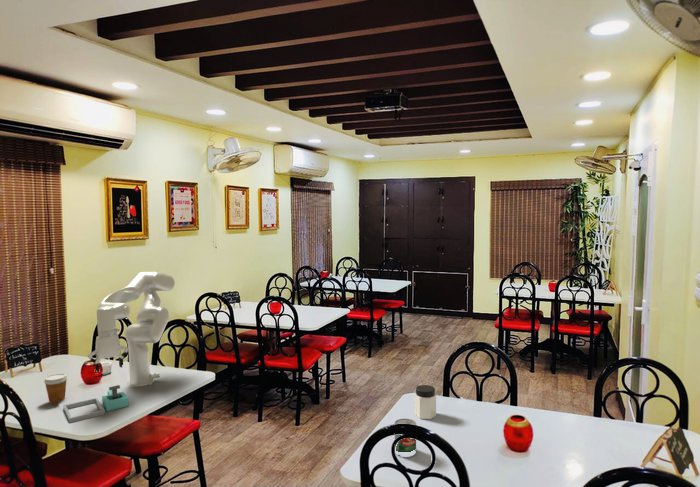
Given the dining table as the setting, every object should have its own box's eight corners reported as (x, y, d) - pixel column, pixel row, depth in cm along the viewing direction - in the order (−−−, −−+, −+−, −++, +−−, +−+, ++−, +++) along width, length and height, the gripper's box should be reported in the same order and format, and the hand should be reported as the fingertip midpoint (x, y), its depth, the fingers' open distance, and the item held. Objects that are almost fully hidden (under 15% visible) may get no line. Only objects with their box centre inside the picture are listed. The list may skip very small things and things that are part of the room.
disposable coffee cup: (44, 407, 227) (42, 381, 226) (46, 400, 236) (44, 375, 235) (68, 403, 231) (66, 378, 230) (69, 396, 240) (67, 372, 239)
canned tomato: (408, 460, 175) (407, 430, 175) (390, 452, 181) (390, 423, 180) (420, 451, 181) (420, 422, 180) (403, 444, 187) (402, 416, 186)
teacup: (104, 370, 277) (104, 361, 276) (115, 371, 274) (114, 362, 274) (89, 376, 267) (89, 366, 267) (100, 378, 265) (100, 368, 264)
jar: (422, 409, 218) (422, 383, 217) (439, 414, 213) (439, 387, 212) (411, 416, 211) (411, 389, 210) (428, 421, 206) (428, 393, 205)
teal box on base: (121, 396, 235) (120, 388, 235) (128, 405, 224) (127, 397, 224) (100, 401, 230) (99, 393, 229) (106, 411, 219) (106, 402, 218)
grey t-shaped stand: (124, 401, 232) (123, 380, 231) (129, 408, 224) (128, 387, 223) (101, 407, 226) (100, 386, 225) (105, 414, 218) (104, 392, 217)
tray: (97, 404, 230) (96, 397, 229) (105, 416, 216) (104, 409, 215) (63, 411, 221) (63, 405, 221) (69, 425, 208) (69, 418, 207)
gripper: (125, 328, 236) (127, 363, 238) (84, 334, 226) (87, 371, 227) (129, 331, 230) (131, 367, 232) (87, 338, 220) (90, 375, 221)
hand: (109, 369), depth 229 cm, fingers open, 9 cm apart
